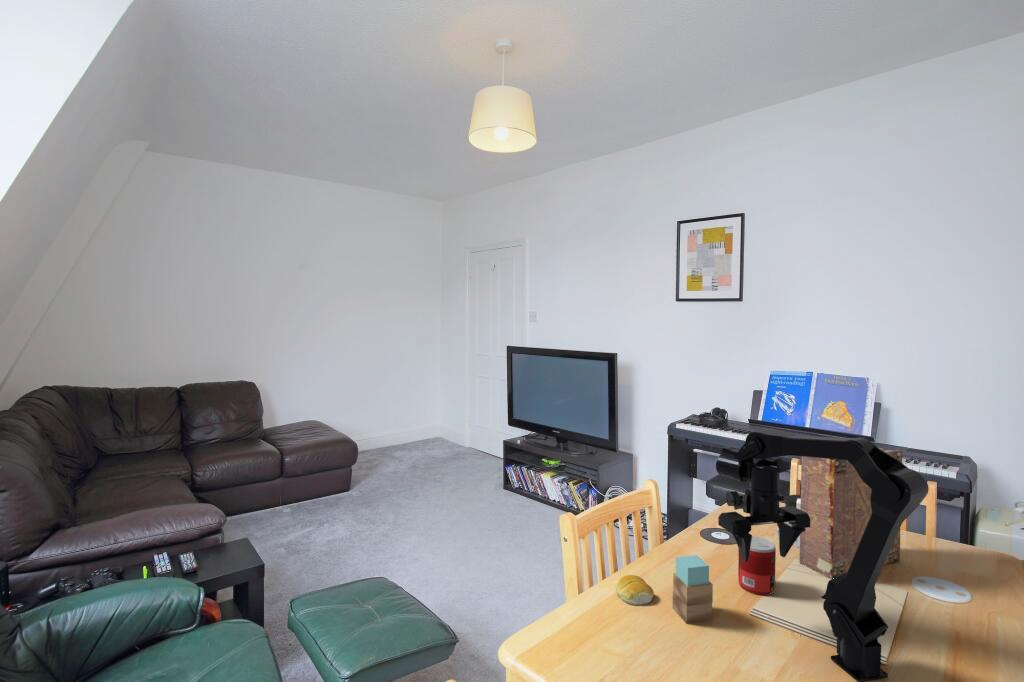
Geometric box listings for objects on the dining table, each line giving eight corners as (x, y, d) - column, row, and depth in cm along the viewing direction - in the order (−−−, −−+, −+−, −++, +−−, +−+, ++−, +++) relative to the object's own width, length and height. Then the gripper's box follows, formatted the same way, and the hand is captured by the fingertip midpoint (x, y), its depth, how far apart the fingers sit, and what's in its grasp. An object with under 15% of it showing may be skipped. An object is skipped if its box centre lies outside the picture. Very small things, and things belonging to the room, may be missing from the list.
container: (776, 538, 150) (777, 494, 149) (794, 533, 153) (795, 490, 153) (801, 549, 143) (801, 503, 142) (819, 543, 146) (820, 499, 146)
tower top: (712, 602, 110) (712, 584, 110) (686, 605, 109) (686, 587, 109) (697, 588, 116) (697, 570, 116) (673, 590, 115) (673, 573, 115)
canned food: (779, 597, 119) (779, 551, 118) (742, 594, 120) (743, 548, 120) (769, 580, 126) (770, 537, 126) (735, 577, 128) (735, 534, 127)
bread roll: (640, 583, 126) (640, 567, 126) (658, 603, 117) (658, 586, 117) (609, 588, 124) (609, 571, 124) (625, 608, 115) (625, 591, 115)
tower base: (712, 620, 110) (712, 602, 110) (686, 624, 109) (686, 606, 109) (696, 605, 116) (697, 588, 116) (672, 608, 115) (672, 591, 115)
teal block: (708, 583, 110) (709, 565, 110) (687, 586, 109) (687, 568, 109) (696, 572, 115) (696, 555, 115) (675, 574, 114) (675, 557, 114)
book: (865, 547, 144) (868, 441, 142) (900, 561, 135) (903, 449, 134) (799, 563, 135) (801, 451, 134) (831, 580, 126) (834, 460, 125)
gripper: (776, 473, 120) (775, 539, 120) (704, 479, 116) (703, 547, 117) (812, 488, 109) (812, 560, 110) (734, 496, 105) (734, 570, 106)
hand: (763, 558), depth 111 cm, fingers open, 9 cm apart
